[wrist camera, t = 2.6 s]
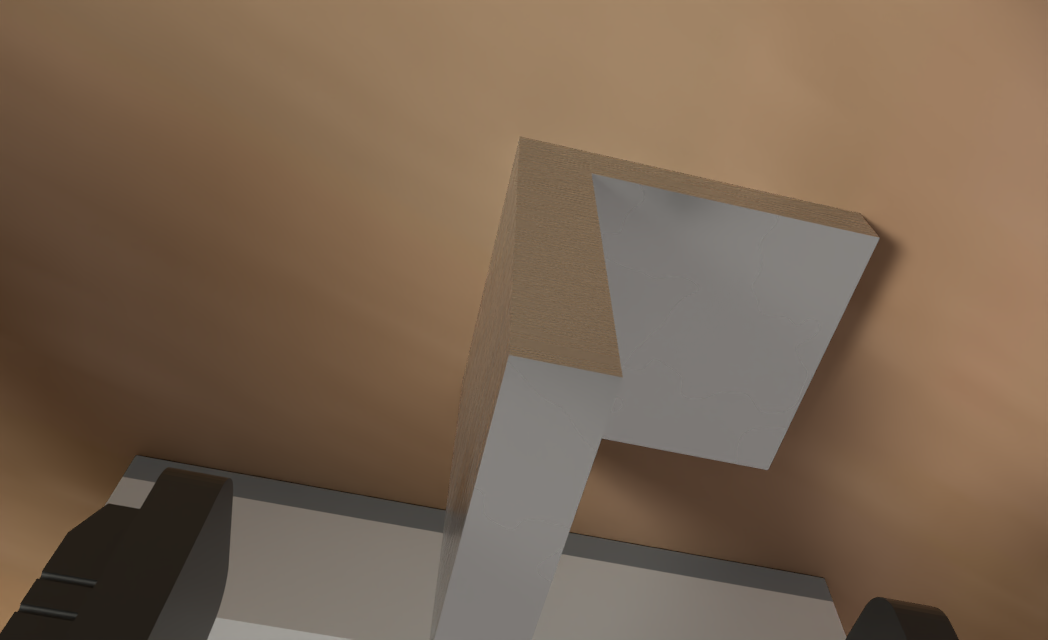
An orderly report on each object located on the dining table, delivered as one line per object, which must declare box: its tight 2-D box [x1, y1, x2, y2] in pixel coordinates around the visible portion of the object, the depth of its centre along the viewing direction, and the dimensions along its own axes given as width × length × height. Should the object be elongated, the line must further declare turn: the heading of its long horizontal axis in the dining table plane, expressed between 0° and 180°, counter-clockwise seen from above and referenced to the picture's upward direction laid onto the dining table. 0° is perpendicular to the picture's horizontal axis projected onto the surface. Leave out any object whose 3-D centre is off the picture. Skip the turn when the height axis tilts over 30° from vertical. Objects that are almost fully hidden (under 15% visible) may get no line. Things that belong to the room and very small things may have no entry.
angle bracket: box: [429, 137, 880, 640], centre depth 16 cm, size 7×6×8 cm
